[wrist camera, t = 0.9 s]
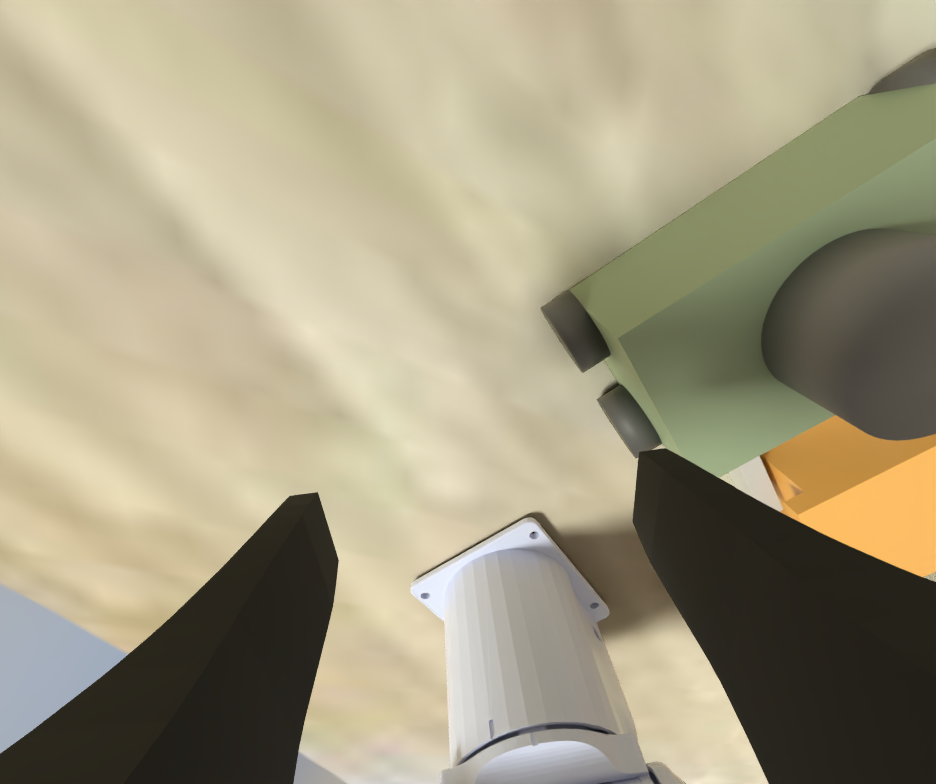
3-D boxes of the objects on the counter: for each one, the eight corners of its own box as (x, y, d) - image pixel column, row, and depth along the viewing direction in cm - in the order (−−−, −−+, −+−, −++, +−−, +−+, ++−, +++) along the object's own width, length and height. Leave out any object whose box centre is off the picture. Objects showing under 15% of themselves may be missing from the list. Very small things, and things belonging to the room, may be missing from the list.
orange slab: (882, 495, 24) (967, 557, 20) (777, 547, 25) (839, 614, 22) (852, 390, 21) (947, 440, 17) (733, 455, 22) (797, 514, 18)
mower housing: (944, 385, 22) (1223, 501, 14) (675, 526, 24) (787, 686, 17) (890, 58, 15) (1347, -50, 8) (533, 299, 18) (612, 393, 10)
